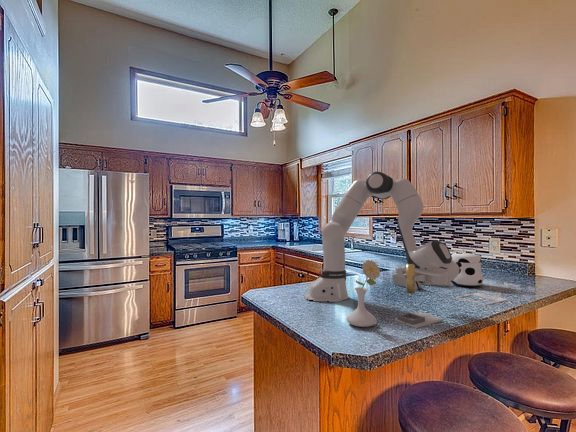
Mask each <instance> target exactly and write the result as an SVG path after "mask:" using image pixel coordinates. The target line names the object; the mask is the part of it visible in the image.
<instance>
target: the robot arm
mask: <svg viewBox="0 0 576 432" xmlns="http://www.w3.org/2000/svg"><path fill="white" fill-rule="evenodd" d="M369 198H374V199H378V200H387V199H389V198H391V199H392V200H393V202H394V204H395V206H396V208H397V212H398V213H397V214H398V219H397V228H398V230H399V235H400V238H401V242H402V244H403V248H404V251H405V252H404V253H405V259H406V264H414V265H415V276H413V280H414V281H422V282H424V283H425V284H427V286H433V285H434V286H436V285H437V286H447V287H448V286H451V283H452V282H451V280H453V279H455V278H456V277H457V276H458V274H459V267H458V265H457V264H456V263H455V262H454V261H453V260H452V259H451V256H452V254H451V252H450V250H449V247H448V246H447V245H446V244H445V243H444V242H442V241H440V240H437V239H433V240H430V241H428V242H426V243H423V244H422V245H421V246H417V243H416V240H415V237H414V234H413V227H414V225H415V223H416V222H417V221H418V219H419V218H420V217H421V216H422V213H423V212H424V202H423V200H422V198H421V196H420V194H419V192H418V191H417V189H416V188H415V186H414V185H413V184H412V182H411V181H410V180H409V179H407V178H399V179H396V180H394V178H392V177H391V176H389V175H387V174H386V173H385V172H381V171H374V172H371V173H370V174H369V175H368V176H367V177H366V180H365V179H361V178H359V179H355V180H354V181H353V182H352V183H351V184H350V185H349V187H348V188H347V190H346V191H345V193H344V194H343V196H342V197H341V199H340V201H339V202H338V203H337V206H336V208H335V209H334V212H333V214H332V215H331V217H330V219H329V221H328V223H326V224H325V225H324V226H323V228H322V229H321V230H322V231H321V238H322V239H321V242H322V243H321V244H322V253H323V269H318V270H317V273H318V274H319V277H318V278H317V279H315V280H314V281H312V282H311V283H310V285H309V289H308V291H307V292H305V294H304V298H306V300H307V299H308V300H307V301H309V300H313V301H312V302H327V301H329V302H332V303H339V302H342V301H345V300H347V299H349V295H348V290H347V289H348V288H347V283H346V282H347V270H346V249H345V245H346V244H345V236H346V234H347V233H348V231H349V229H350V228H351V227H352V225H353V223H354V221H355V220H356V218H357V217H358V215H359V213H360V212H361V210H362V208H363V206H364V204H365V203H366V201H367V200H368V199H369ZM396 272H397V276H398V277H402V278H403V279H406V267H398V268H397V269H396ZM329 302H328V303H329Z"/></svg>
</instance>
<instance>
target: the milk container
mask: <svg viewBox="0 0 576 432" xmlns="http://www.w3.org/2000/svg"><path fill="white" fill-rule="evenodd" d="M451 259H452V260H453V261H454V262H455V263H456V264H457V265H458V267H459V274H458V276H457V277H456V278H455V279H453V280H451V283H452V284H453V285H455V286H460V287H466V288H467V287H469V288H471V287H473V288H475V287H480V286H482V285H483V283H484V275H483V273H482V256H481V255H479V254H473V253H453V254H451Z"/></svg>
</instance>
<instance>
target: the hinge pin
mask: <svg viewBox="0 0 576 432" xmlns="http://www.w3.org/2000/svg"><path fill="white" fill-rule="evenodd" d="M405 268H406V287H405V289H406V291H405V292H406V294H411V295H413V294H414V295H415V294H416V290H415V281H414V280H413V276H415V265H414V264H408V263H406V264H405Z"/></svg>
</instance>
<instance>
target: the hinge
mask: <svg viewBox="0 0 576 432" xmlns="http://www.w3.org/2000/svg"><path fill="white" fill-rule="evenodd" d="M392 282H393V285H395V286H399V287H404V288H406V279H403V278H402V277H398V276H397V271H396V272H394V273H393V274H392ZM419 289H421V290H422V289H423V286H422V285H421V284H419V281H415V291H418V290H419Z"/></svg>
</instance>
